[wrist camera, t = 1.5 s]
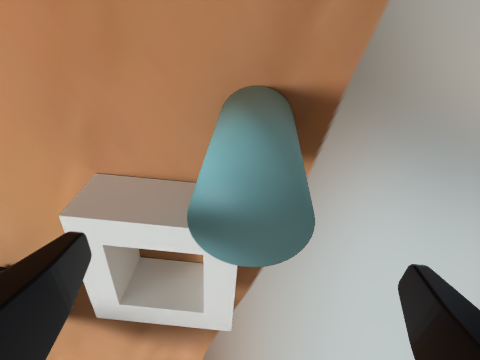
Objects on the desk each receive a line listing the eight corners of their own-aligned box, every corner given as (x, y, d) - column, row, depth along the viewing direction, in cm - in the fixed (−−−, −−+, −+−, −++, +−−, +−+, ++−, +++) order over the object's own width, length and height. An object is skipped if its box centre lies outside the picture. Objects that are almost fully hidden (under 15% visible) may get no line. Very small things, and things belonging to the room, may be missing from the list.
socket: (236, 282, 24) (231, 331, 20) (120, 270, 24) (96, 317, 20) (244, 187, 18) (240, 233, 15) (95, 173, 18) (58, 215, 15)
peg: (287, 158, 17) (301, 272, 10) (218, 152, 17) (188, 261, 10) (299, 89, 15) (328, 178, 8) (220, 82, 15) (184, 165, 8)
